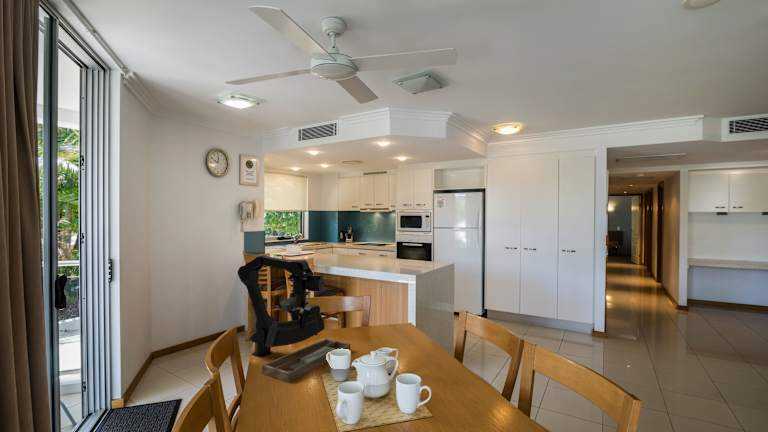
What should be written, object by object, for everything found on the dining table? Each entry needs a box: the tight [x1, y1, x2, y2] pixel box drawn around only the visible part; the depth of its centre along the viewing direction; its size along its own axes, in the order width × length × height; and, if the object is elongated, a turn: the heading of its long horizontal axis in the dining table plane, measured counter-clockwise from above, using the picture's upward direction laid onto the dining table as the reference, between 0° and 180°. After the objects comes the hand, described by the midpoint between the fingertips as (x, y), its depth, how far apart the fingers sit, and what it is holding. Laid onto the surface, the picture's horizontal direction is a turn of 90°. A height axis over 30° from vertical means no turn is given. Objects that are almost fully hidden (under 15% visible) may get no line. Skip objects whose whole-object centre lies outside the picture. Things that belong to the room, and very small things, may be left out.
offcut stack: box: [287, 347, 336, 372], centre depth 146 cm, size 6×26×4 cm, turn 150°
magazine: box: [265, 311, 326, 349], centre depth 150 cm, size 17×3×30 cm
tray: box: [261, 337, 351, 383], centre depth 148 cm, size 14×36×3 cm, turn 148°
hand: (298, 327), depth 151 cm, fingers closed on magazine, 3 cm apart
